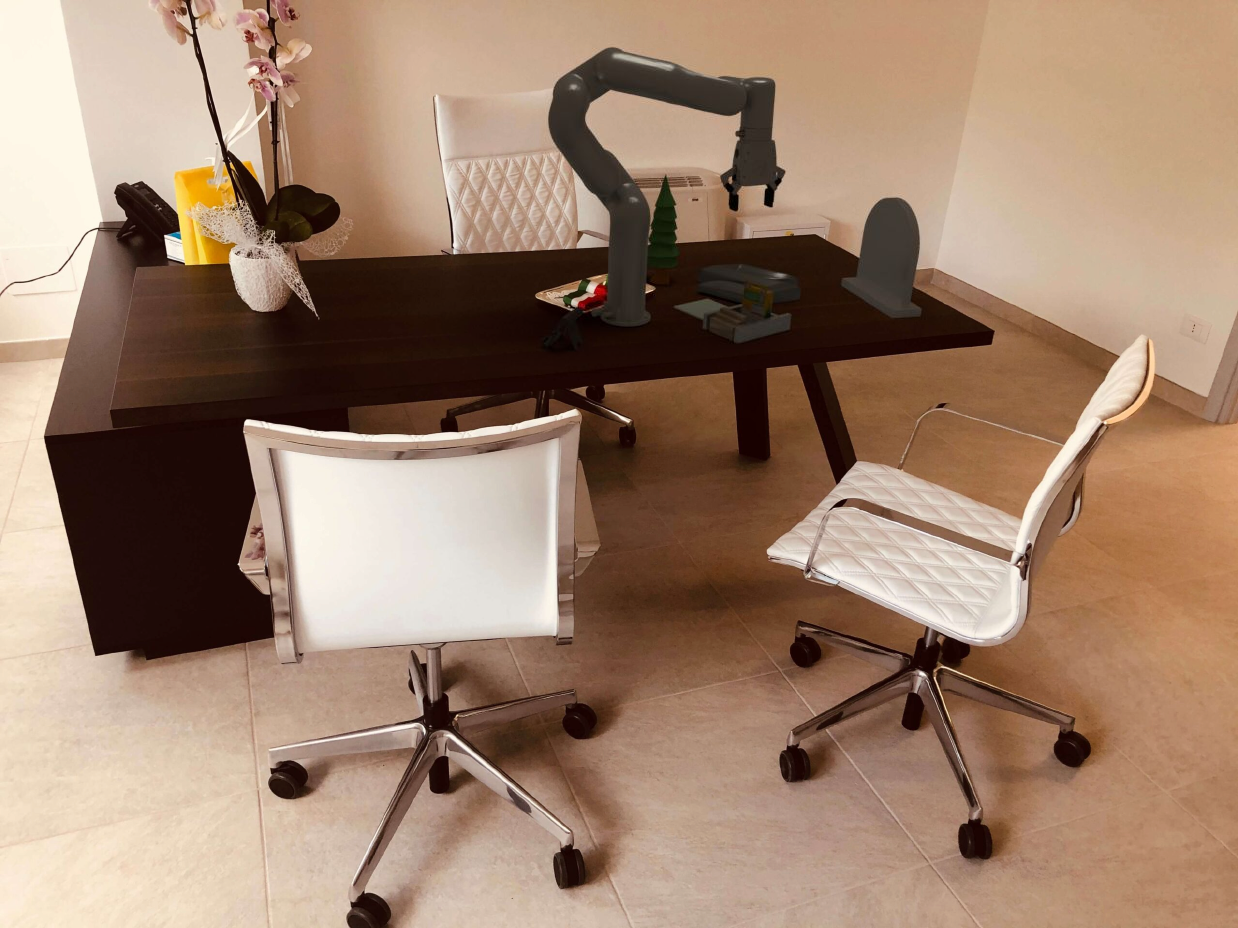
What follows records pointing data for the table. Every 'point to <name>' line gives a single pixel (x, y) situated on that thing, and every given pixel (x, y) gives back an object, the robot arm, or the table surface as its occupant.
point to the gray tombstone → (888, 259)
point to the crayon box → (756, 302)
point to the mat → (699, 307)
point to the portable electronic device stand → (568, 325)
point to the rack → (754, 325)
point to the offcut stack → (726, 322)
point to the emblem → (732, 278)
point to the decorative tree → (663, 236)
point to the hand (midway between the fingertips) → (751, 208)
